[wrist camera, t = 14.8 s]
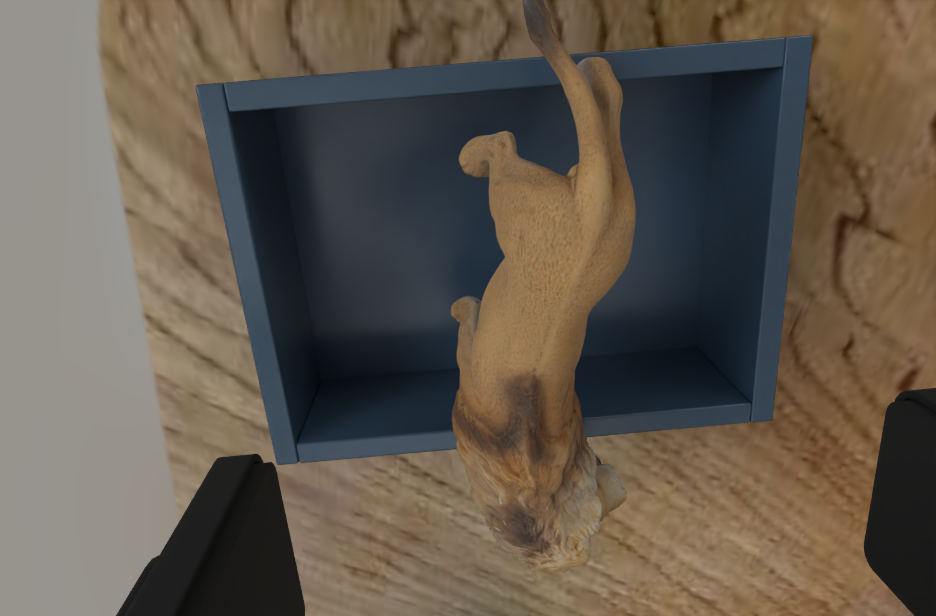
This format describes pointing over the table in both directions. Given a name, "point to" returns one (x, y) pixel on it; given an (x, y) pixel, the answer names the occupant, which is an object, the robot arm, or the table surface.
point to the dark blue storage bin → (476, 245)
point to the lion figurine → (543, 322)
